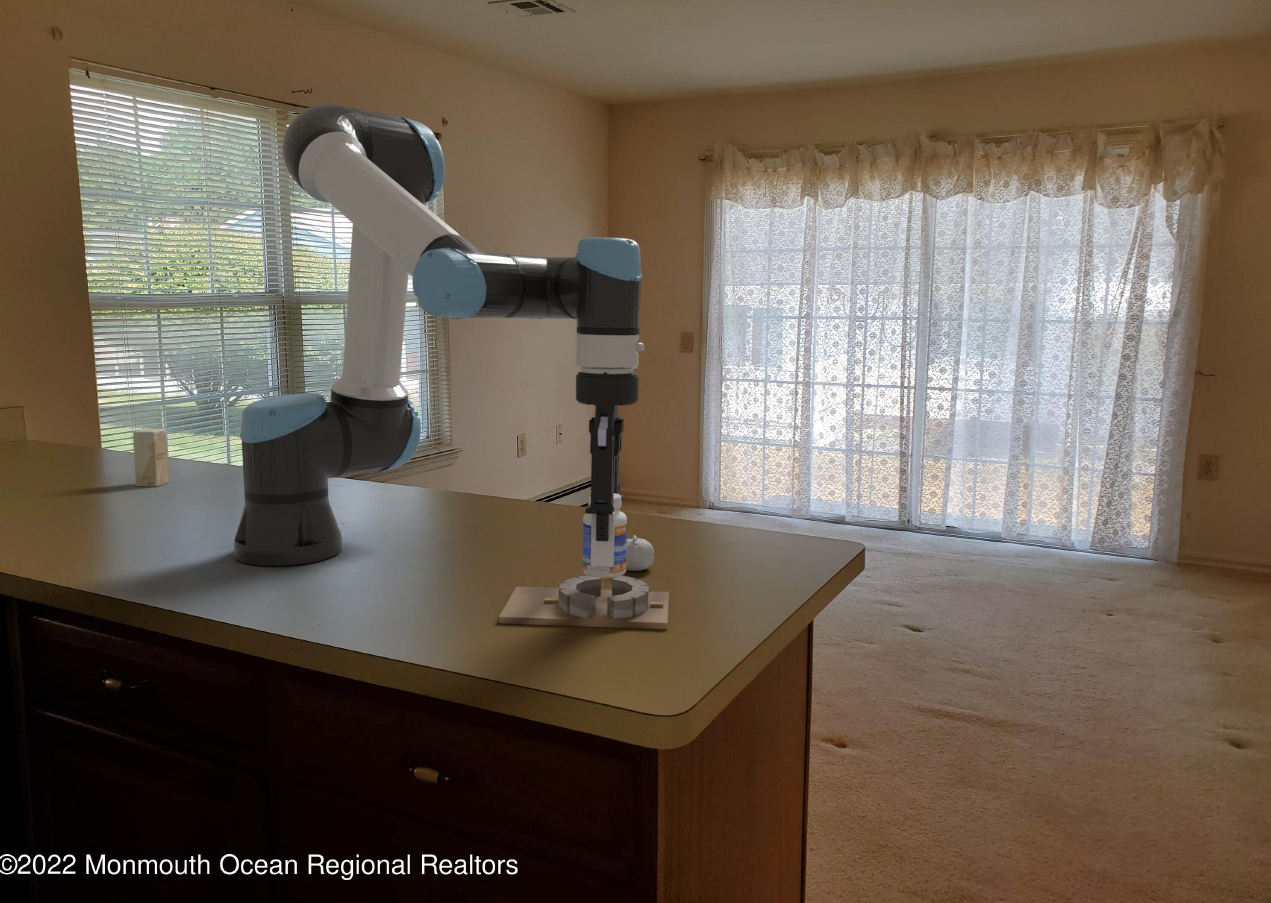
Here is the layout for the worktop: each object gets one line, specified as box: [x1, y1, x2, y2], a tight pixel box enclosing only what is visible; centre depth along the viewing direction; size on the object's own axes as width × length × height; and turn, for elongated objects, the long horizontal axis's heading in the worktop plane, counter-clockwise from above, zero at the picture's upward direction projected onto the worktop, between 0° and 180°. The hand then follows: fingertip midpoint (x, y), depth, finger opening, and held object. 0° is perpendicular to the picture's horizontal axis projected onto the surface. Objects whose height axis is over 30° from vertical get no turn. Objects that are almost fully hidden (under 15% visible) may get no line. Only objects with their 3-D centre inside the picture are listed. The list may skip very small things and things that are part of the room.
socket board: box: [498, 574, 670, 630], centre depth 115 cm, size 20×12×3 cm, turn 87°
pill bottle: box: [582, 493, 628, 579], centre depth 113 cm, size 5×5×10 cm
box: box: [132, 428, 170, 487], centre depth 185 cm, size 5×4×11 cm
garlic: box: [626, 534, 655, 572], centre depth 133 cm, size 6×5×5 cm
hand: (604, 558), depth 114 cm, fingers closed on pill bottle, 5 cm apart
